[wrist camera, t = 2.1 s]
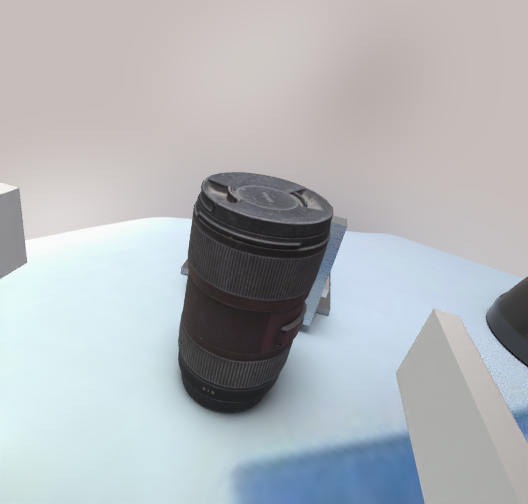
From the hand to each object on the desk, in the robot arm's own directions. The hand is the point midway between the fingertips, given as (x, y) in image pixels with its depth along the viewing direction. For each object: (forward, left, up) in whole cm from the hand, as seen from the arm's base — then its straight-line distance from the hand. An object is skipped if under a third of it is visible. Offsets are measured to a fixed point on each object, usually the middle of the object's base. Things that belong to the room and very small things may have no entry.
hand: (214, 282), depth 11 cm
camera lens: (0, -10, -15) cm, 18 cm away
